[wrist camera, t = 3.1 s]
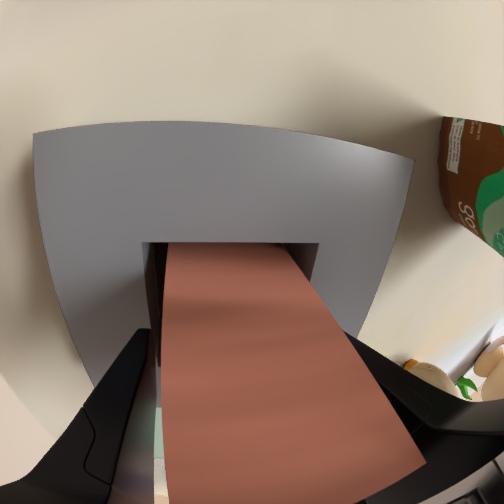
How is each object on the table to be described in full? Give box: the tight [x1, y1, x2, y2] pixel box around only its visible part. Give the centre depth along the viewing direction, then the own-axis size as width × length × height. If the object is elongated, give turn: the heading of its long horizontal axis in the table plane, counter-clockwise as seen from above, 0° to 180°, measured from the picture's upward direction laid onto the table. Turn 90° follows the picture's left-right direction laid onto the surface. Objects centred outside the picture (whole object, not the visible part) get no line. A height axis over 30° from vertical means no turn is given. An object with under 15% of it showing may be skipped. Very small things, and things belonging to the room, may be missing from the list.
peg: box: [161, 242, 426, 504], centre depth 7 cm, size 4×4×10 cm
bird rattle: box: [404, 360, 459, 398], centre depth 18 cm, size 6×11×9 cm
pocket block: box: [33, 121, 415, 408], centre depth 10 cm, size 12×12×3 cm
